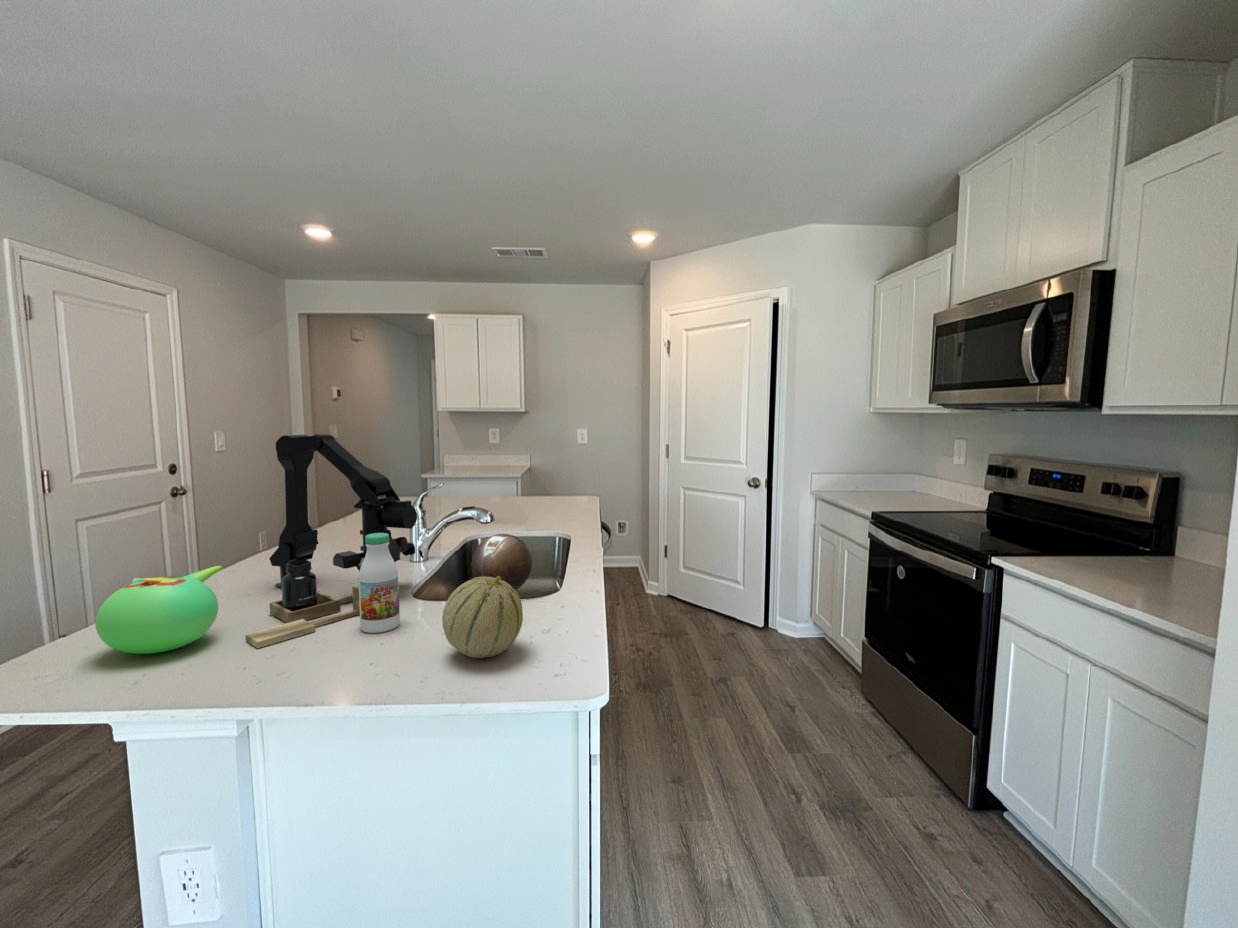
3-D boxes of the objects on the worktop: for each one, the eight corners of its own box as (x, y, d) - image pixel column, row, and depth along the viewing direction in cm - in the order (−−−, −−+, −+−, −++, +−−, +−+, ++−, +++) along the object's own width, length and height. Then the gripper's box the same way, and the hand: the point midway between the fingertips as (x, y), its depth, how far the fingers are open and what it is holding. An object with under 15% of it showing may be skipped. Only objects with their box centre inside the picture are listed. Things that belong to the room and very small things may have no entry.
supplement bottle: (306, 620, 119) (303, 567, 118) (275, 619, 119) (273, 566, 118) (324, 609, 126) (322, 558, 125) (295, 608, 126) (293, 558, 125)
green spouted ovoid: (76, 673, 94) (69, 591, 93) (134, 635, 111) (128, 565, 109) (197, 661, 99) (192, 582, 98) (235, 626, 115) (231, 559, 114)
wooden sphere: (463, 601, 131) (462, 541, 130) (481, 583, 146) (480, 528, 145) (525, 603, 131) (524, 541, 129) (537, 583, 146) (536, 528, 144)
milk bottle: (352, 629, 114) (348, 536, 112) (383, 617, 121) (380, 529, 119) (377, 636, 110) (373, 540, 109) (407, 624, 117) (405, 533, 115)
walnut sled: (270, 613, 122) (268, 587, 122) (371, 587, 141) (371, 564, 141) (290, 624, 116) (289, 597, 115) (394, 595, 135) (393, 572, 134)
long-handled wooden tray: (245, 640, 108) (243, 610, 107) (362, 607, 127) (361, 582, 126) (257, 648, 104) (255, 617, 104) (376, 612, 123) (375, 587, 123)
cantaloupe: (441, 644, 107) (439, 569, 106) (516, 633, 112) (515, 562, 111) (445, 677, 93) (443, 592, 92) (530, 664, 98) (529, 583, 97)
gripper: (354, 537, 123) (356, 604, 124) (426, 524, 138) (428, 584, 139) (330, 530, 130) (333, 594, 131) (402, 519, 145) (404, 576, 146)
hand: (376, 587), depth 137 cm, fingers closed on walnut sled, 3 cm apart
